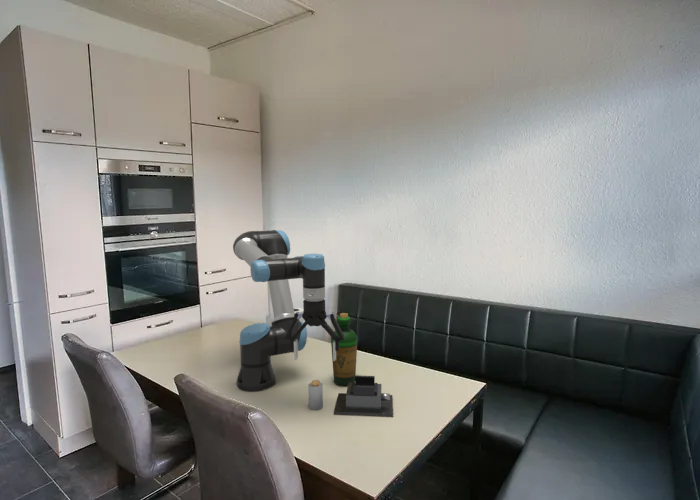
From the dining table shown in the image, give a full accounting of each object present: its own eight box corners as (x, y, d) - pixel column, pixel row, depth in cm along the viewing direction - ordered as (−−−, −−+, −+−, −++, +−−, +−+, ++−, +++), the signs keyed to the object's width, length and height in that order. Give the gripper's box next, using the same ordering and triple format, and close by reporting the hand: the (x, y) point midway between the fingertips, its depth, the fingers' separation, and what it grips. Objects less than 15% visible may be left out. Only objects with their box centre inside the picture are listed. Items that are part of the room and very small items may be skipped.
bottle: (338, 390, 157) (337, 319, 154) (326, 379, 167) (326, 312, 164) (362, 384, 162) (362, 315, 159) (350, 374, 172) (349, 309, 169)
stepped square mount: (333, 414, 139) (333, 389, 138) (338, 395, 153) (338, 372, 152) (392, 416, 137) (393, 391, 136) (392, 397, 151) (392, 374, 150)
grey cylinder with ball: (307, 409, 142) (307, 384, 141) (310, 403, 147) (309, 378, 146) (321, 410, 142) (321, 385, 141) (323, 403, 147) (323, 378, 146)
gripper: (275, 301, 138) (277, 362, 140) (349, 301, 136) (350, 363, 138) (281, 296, 145) (282, 354, 147) (351, 297, 143) (351, 355, 145)
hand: (315, 359), depth 143 cm, fingers open, 13 cm apart
